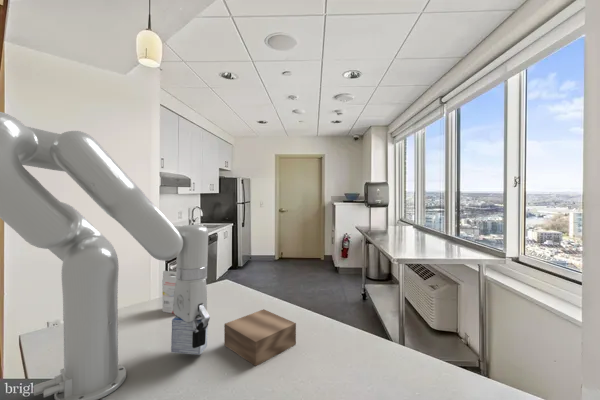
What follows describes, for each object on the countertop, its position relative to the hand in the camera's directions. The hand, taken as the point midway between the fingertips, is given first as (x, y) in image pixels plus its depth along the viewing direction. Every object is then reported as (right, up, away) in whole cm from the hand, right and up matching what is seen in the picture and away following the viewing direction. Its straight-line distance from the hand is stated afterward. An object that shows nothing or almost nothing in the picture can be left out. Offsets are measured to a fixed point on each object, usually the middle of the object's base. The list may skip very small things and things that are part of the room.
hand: (189, 339), depth 74 cm
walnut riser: (+18, -4, +5) cm, 19 cm away
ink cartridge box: (-16, -4, +28) cm, 33 cm away
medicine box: (0, -3, 0) cm, 3 cm away
